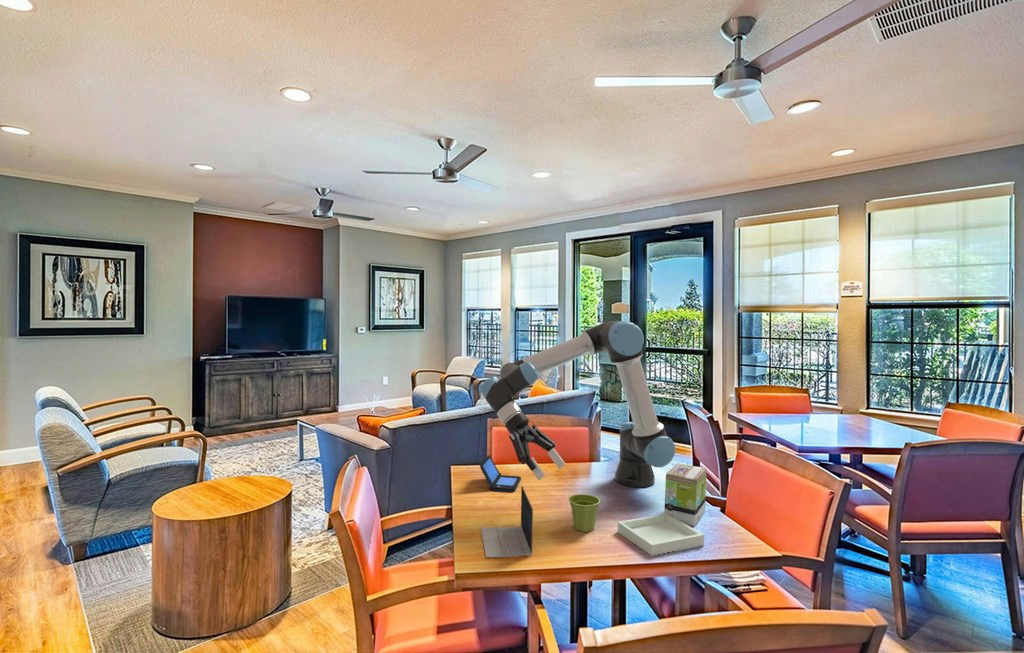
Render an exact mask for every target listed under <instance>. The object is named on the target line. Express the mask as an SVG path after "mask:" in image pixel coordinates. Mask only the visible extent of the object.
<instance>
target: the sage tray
mask: <svg viewBox="0 0 1024 653" xmlns="http://www.w3.org/2000/svg"><path fill="white" fill-rule="evenodd" d="M617 533H618V534H620V536H623V537H624V538H625V539H627V540H628V541H630V542H631V543H632V542H633V544H634V545H635V544H636V547H638V546H639V547H638V548H640V549H641V548H642V549H643V550H642V549H641V550H642V551H644V550H645V551H646V552H645V551H644V552H645V553H647V552H648V553H649V554H650V555H649V554H648V553H647V554H648V555H649V556H651V555H652V556H651V557H654V556H653V555H655V556H659V555H658V554H660V555H663V553H665V554H668V553H667V552H670V553H673V552H672V551H674V552H679V551H683V550H688V549H693V548H699V547H703V546H705V534H704V533H703V532H701V531H700V530H697V529H696V528H693V527H691V525H688V524H684V523H682V522H681V521H679V520H677V519H675V518H673V517H672V516H670V515H668V514H664V513H663V514H657V515H656V514H655V515H652V516H643V517H639V518H633V519H629V520H627V519H626V520H621V521H617Z"/></svg>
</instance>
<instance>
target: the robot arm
mask: <svg viewBox="0 0 1024 653" xmlns="http://www.w3.org/2000/svg"><path fill="white" fill-rule="evenodd" d="M644 341H645V337H644V334H643V330H642V329H641V328H640V327H639V326H638V325H636V324H635V323H633V322H631V321H627V320H619V321H618V320H614V321H613V320H608V321H604V322H602V323H599V324H597V325H594V326H592V327H590V328H588V329H586V330H583V331H581V334H580V335H579V336H576V337H573V338H571V339H569V340H566V341H563V342H561V343H558V344H556V345H554V346H551V347H549V348H547V349H543V350H541V351H537V352H536V353H534V354H532V355H531V354H530V355H528V356H526V357H523V358H521V359H519V360H516V361H514V362H506V363H504V364H502V366H501V368H500V370H499V375H500V376H499V377H500V379H499V378H498V377H497V376H491V377H490V378H487V379H486V380H484V381H483V382H482V384H481V385H480V387H479V392H480V393H481V395H482V396H483V398H484V399H485V401H486V402H487V404H488V405H489V406H490V407H491V409H492V410H493V412H494V413H495V414H496V415H497V417H498V418H499V420H500V421H501V423H502V424H503V425H504V427H505V428H506V429H507V431H508V432H509V435H508V438H509V440H510V441H511V444H512V446H513V449H514V452H515V454H516V455H515V456H516V459H517V461H518V462H519V463H521V464H522V465H525V464H526V465H527V467H528V468H529V470H530V471H531V472H532V473H533V475H534V476H535V478H536V479H537V480H538V481H540V480H542V479H543V478H544V477H545V476H546V474H545V472H544V470H543V469H542V468H541V466H540V465H539V464H538V462H537V461H536V459H535V458H534V457H533V456H532V457H531V451H530V446H529V443H532V444H536V445H537V446H539V447H540V448H542V449H543V450H545V451H546V452H547V454H548V456H549V457H550V459H551V460H552V461H553V463H554V464H555V466H556V467H557V468H558V469H559V470H561V469H562V468H564V466H566V462H565V461H564V460H563V458H562V457H561V456H560V454H559V453H558V452H557V450H556V449H555V447H556V446H557V445H556V442H555V441H553V440H552V439H551V438H550V437H549V436H547V435H546V434H545V433H544V432H543V431H541V430H540V429H539V428H538V427H537V425H536V424H533V425H532V426H530V425H529V422H530V420H529V418H528V417H527V415H526V414H525V413H524V412H523V411H522V409H521V408H520V406H519V405H518V403H517V402H516V401H515V400H514V399H513V398H514V397H516V396H517V395H519V394H520V393H522V392H523V391H525V389H527V388H528V387H530V386H532V385H533V384H534V383H535V382H536V381H538V380H539V377H540V376H539V375H540V374H543V373H546V372H547V371H550V370H552V369H554V368H558V367H559V366H562V365H564V364H567V363H570V362H572V361H575V360H576V359H579V358H582V357H584V356H587V355H589V356H593V355H596V354H600V353H607V354H608V357H609V360H610V362H611V364H613V365H615V366H616V368H617V372H618V376H619V379H620V383H621V385H622V389H623V393H624V396H625V398H626V403H627V406H628V409H629V413H630V416H631V420H632V421H625V422H622V423H620V428H619V461H618V463H617V467H616V471H615V472H614V481H615V482H616V483H618V484H620V485H624V486H627V487H634V488H635V487H636V488H645V487H651V486H653V485H654V484H655V483H656V482H655V481H656V480H655V479H656V478H655V477H656V476H655V474H654V470H653V467H654V468H664V467H667V465H669V464H670V463H671V462H672V461H673V458H674V457H675V455H676V443H675V442H674V441H673V440H672V438H670V437H669V436H668V435H667V432H666V428H665V426H664V424H663V423H662V422H660V421H658V417H657V414H656V410H655V406H654V404H653V403H654V402H653V399H652V395H651V393H650V389H649V385H648V382H647V378H646V375H645V372H644V371H645V370H644V369H643V368H644V367H643V364H642V362H641V358H642V357H643V355H644V354H643V345H644V343H645V342H644Z"/></svg>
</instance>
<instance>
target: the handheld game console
mask: <svg viewBox="0 0 1024 653" xmlns="http://www.w3.org/2000/svg"><path fill="white" fill-rule="evenodd" d="M479 468H480V470H481V472H482V473H483V476H484V477H485V479H486V481H487V482H488V485H489V486H490V487H489V490H490V491H495V492H496V491H497V492H506V491H507V492H509V493H513V492H515V491H516V489H517V488H518V486H519V484H520V482H521V481H522V477H521V476H518V475H506V474H502V473H501V472H500V471H499V468H497V466H496V464H495V462H494V460H493V458H492V457H491V455H487V456H486V457H485V459H484V460H483V461H482V462H481V463H480V464H479Z"/></svg>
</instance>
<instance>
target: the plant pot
mask: <svg viewBox="0 0 1024 653" xmlns="http://www.w3.org/2000/svg"><path fill="white" fill-rule="evenodd" d="M568 502H569V505H570V507H571V513H572V523H573V528H574V530H576V531H581V532H583V533H584V532H591V531H593V530H595V527H596V526H595V525H596V518H597V512H598V508H599V504H600V503H601V499H600V498H599V497H597V496H595V495H591V494H584V493H580V494H573V495H571V496H569V497H568Z"/></svg>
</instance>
